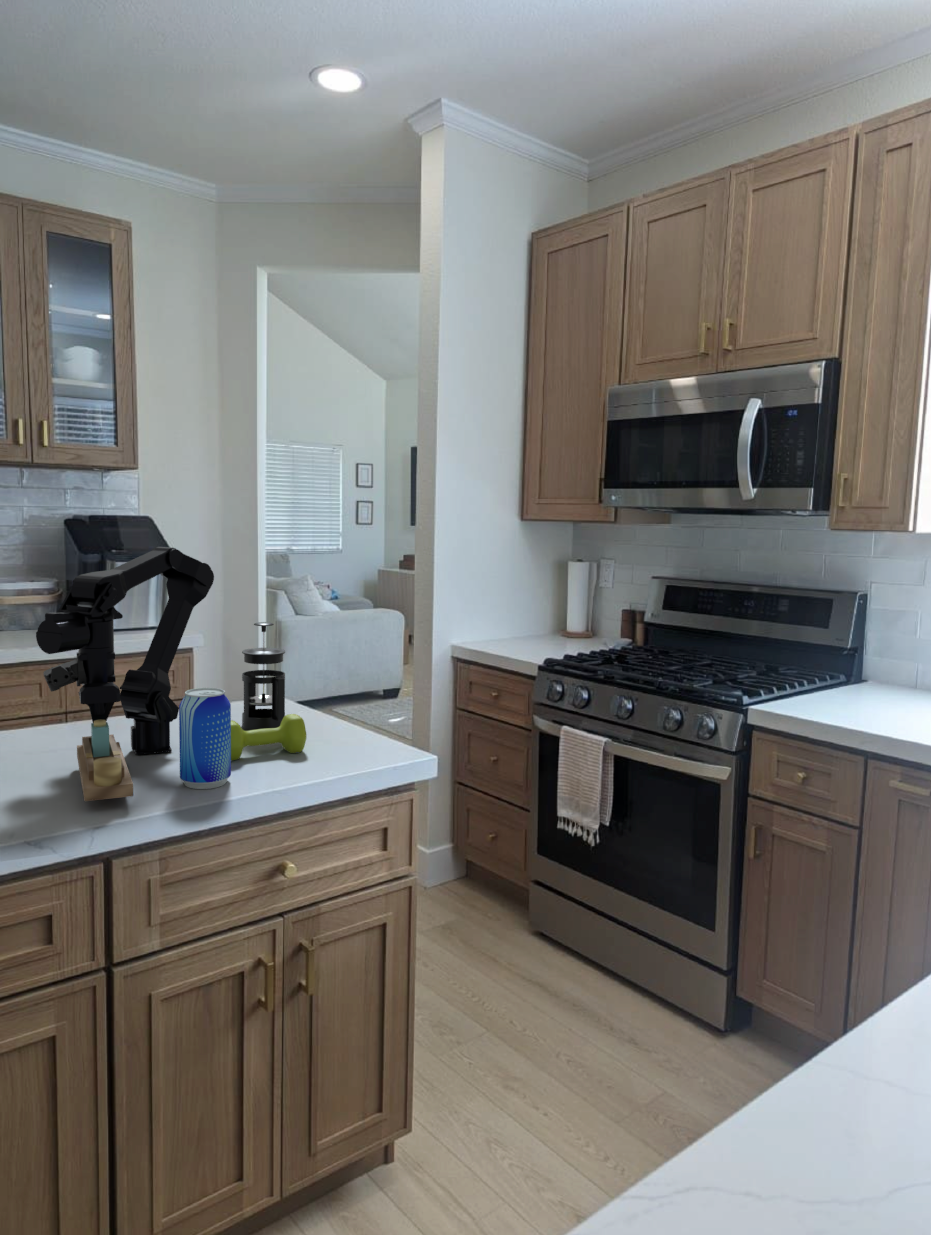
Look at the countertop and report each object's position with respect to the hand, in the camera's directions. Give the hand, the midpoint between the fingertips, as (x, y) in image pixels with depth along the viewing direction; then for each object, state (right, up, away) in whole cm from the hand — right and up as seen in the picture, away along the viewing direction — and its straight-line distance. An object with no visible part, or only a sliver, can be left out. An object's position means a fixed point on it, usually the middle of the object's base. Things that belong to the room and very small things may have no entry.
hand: (98, 732), depth 155 cm
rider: (+2, -3, -4) cm, 6 cm away
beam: (+5, -8, -9) cm, 13 cm away
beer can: (+21, -8, -6) cm, 23 cm away
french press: (+22, -4, +32) cm, 39 cm away
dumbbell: (+26, -6, +13) cm, 30 cm away
